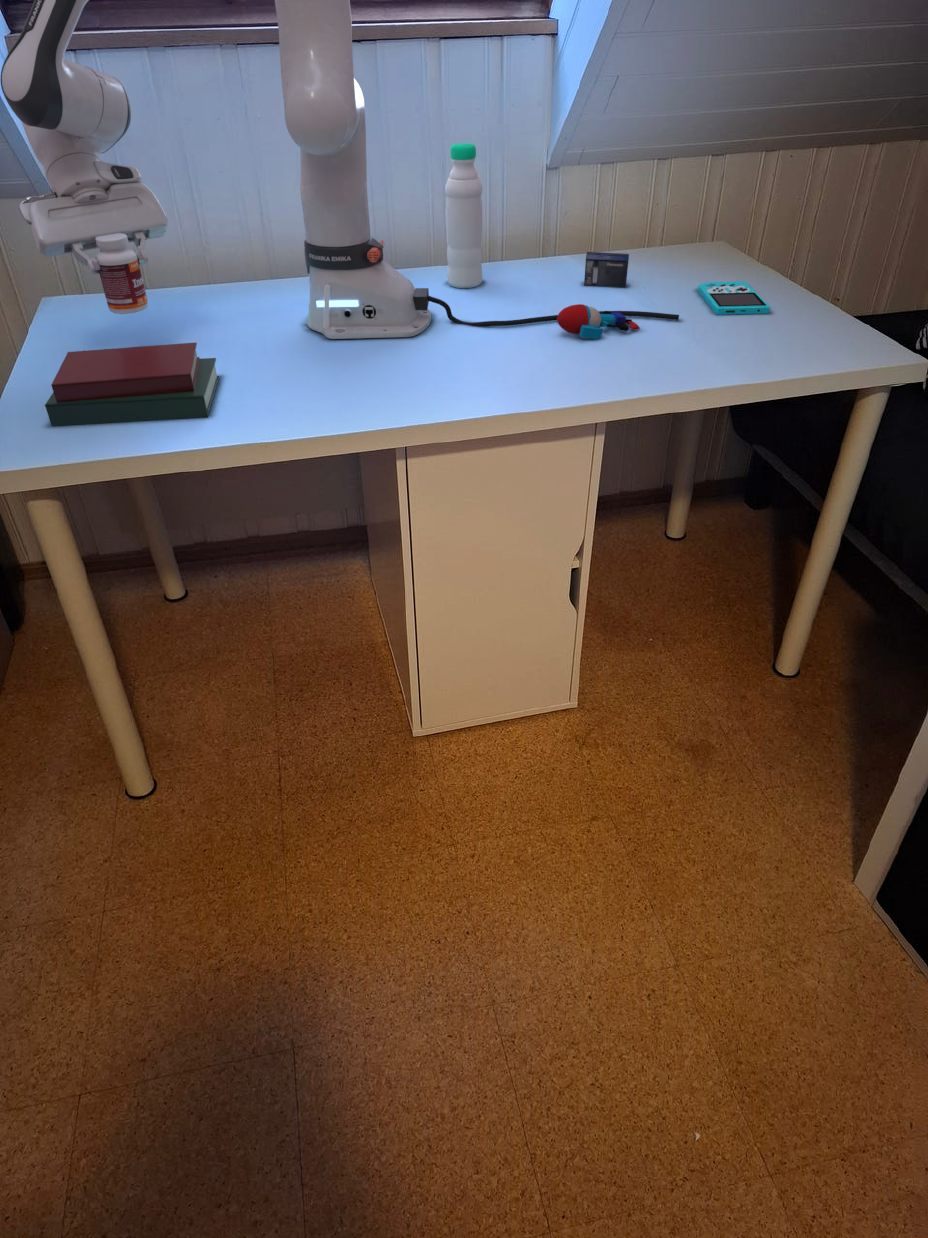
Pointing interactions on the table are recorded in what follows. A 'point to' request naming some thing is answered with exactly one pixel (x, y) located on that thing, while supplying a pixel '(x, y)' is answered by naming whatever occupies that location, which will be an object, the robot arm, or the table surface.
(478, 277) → the water bottle
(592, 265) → the mini dv tape
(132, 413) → the lower book
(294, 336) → the table surface
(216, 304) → the table surface
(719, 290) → the handheld game console
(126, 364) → the upper book
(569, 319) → the toy figure
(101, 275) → the pill bottle
